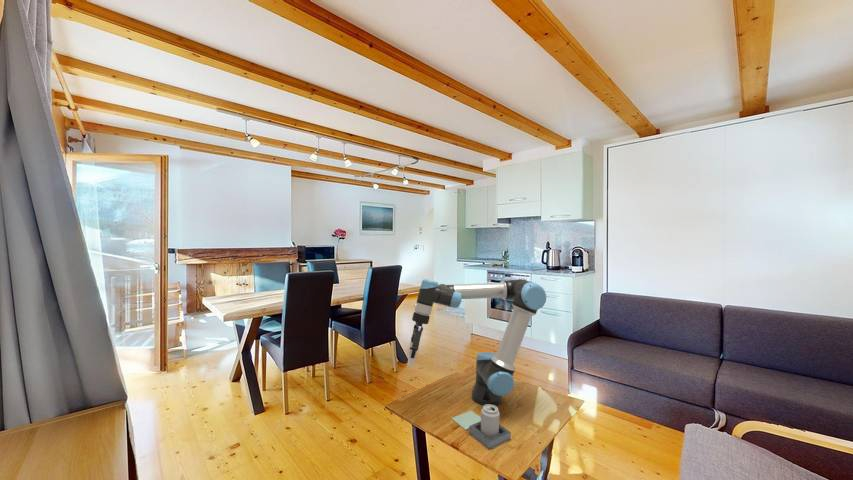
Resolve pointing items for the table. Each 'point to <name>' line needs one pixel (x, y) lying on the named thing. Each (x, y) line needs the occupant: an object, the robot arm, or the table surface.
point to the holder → (489, 442)
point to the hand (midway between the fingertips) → (409, 361)
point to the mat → (467, 419)
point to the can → (490, 420)
